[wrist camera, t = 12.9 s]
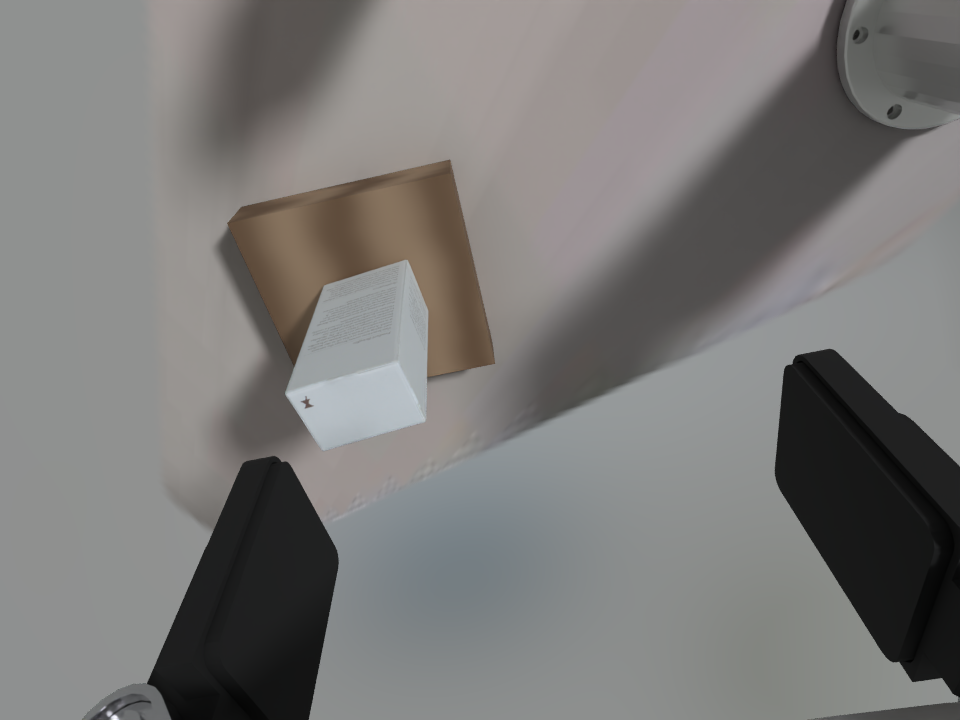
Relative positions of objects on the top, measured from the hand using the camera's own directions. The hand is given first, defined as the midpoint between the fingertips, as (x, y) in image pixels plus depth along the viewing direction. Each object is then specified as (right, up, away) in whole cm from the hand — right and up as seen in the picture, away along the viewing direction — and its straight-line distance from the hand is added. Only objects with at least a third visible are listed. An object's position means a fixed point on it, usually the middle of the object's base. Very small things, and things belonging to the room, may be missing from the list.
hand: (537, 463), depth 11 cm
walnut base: (-8, +8, +30) cm, 32 cm away
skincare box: (-8, +6, +28) cm, 30 cm away
